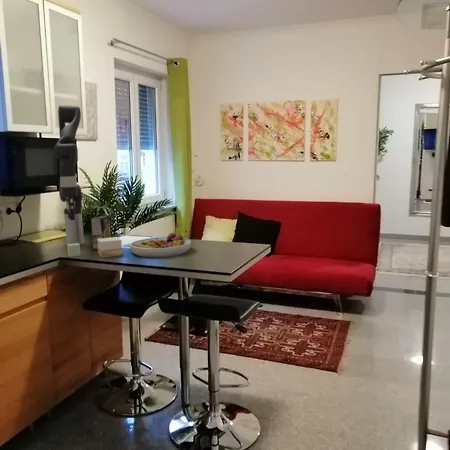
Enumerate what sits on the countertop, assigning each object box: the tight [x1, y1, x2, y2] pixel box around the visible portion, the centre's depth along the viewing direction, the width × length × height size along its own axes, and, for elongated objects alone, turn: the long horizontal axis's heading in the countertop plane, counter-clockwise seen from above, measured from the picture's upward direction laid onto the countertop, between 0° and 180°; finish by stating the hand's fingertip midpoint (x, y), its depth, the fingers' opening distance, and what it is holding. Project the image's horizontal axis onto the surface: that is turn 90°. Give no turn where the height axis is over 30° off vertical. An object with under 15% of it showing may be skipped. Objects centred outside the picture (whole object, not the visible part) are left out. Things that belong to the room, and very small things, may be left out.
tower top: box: [97, 236, 123, 250], centre depth 227 cm, size 10×10×4 cm
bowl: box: [129, 232, 192, 258], centre depth 231 cm, size 30×30×8 cm
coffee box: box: [90, 215, 112, 250], centre depth 247 cm, size 9×6×16 cm
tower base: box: [97, 247, 123, 258], centre depth 228 cm, size 10×10×4 cm
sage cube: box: [66, 243, 82, 258], centre depth 229 cm, size 6×6×6 cm
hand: (71, 219), depth 226 cm, fingers open, 8 cm apart
